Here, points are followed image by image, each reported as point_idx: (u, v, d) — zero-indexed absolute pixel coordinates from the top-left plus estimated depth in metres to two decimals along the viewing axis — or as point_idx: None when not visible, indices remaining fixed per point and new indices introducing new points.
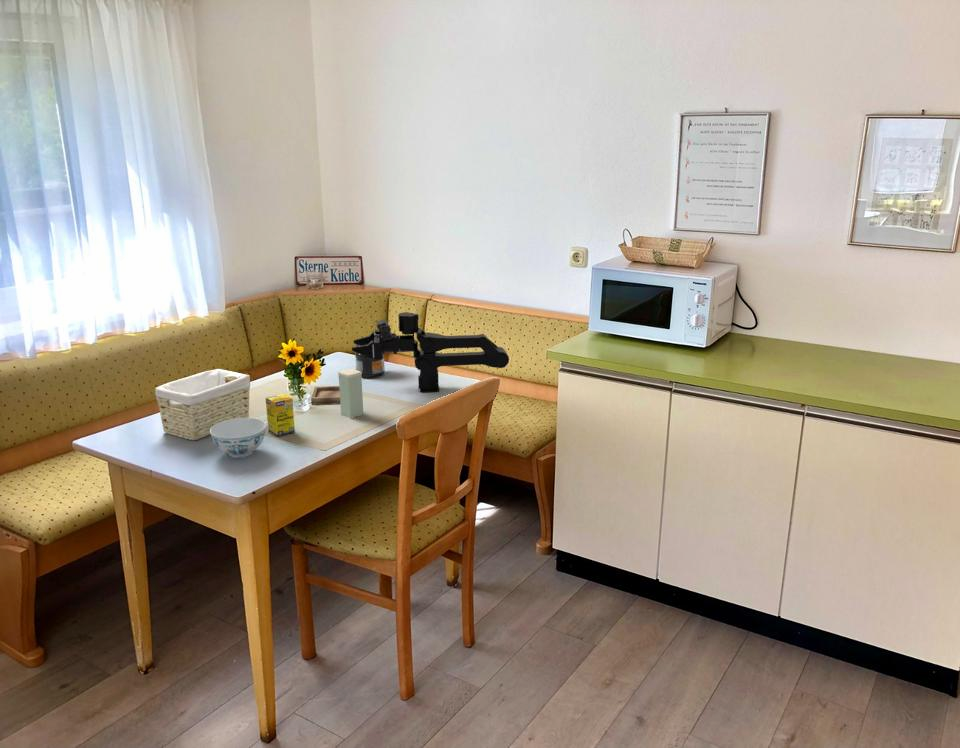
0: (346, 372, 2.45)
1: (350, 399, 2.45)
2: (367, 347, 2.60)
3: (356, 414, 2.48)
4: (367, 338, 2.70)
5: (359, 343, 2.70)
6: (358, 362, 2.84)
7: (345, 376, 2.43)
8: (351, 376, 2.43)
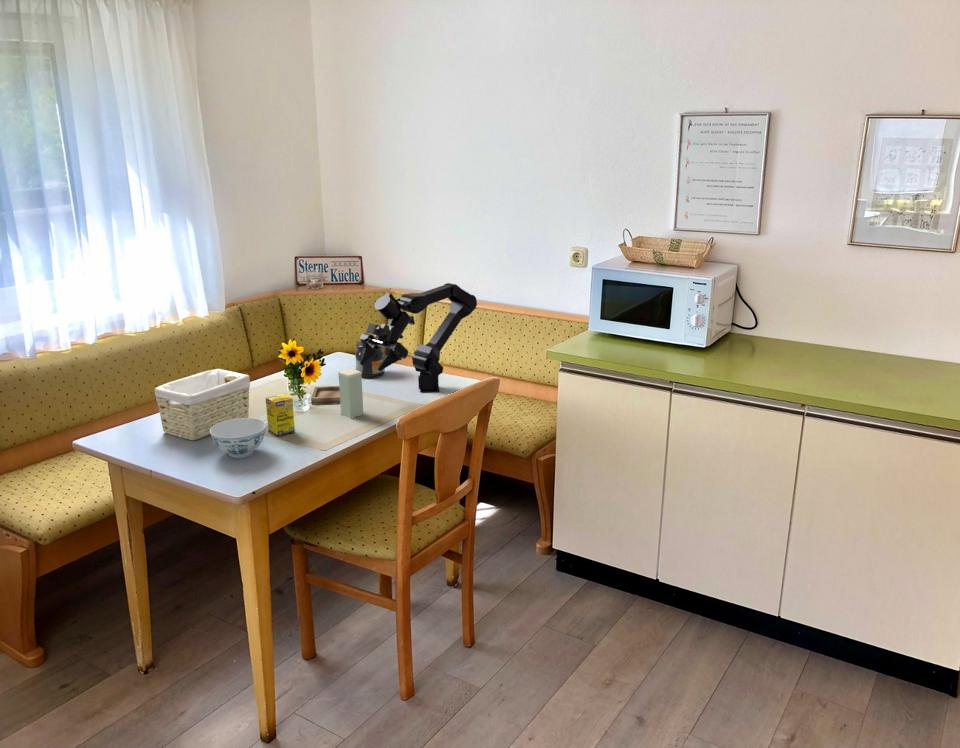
0: (346, 372, 2.45)
1: (350, 399, 2.45)
2: (389, 356, 2.48)
3: (356, 414, 2.48)
4: (366, 350, 2.55)
5: (365, 360, 2.55)
6: (358, 362, 2.84)
7: (345, 376, 2.43)
8: (351, 376, 2.43)
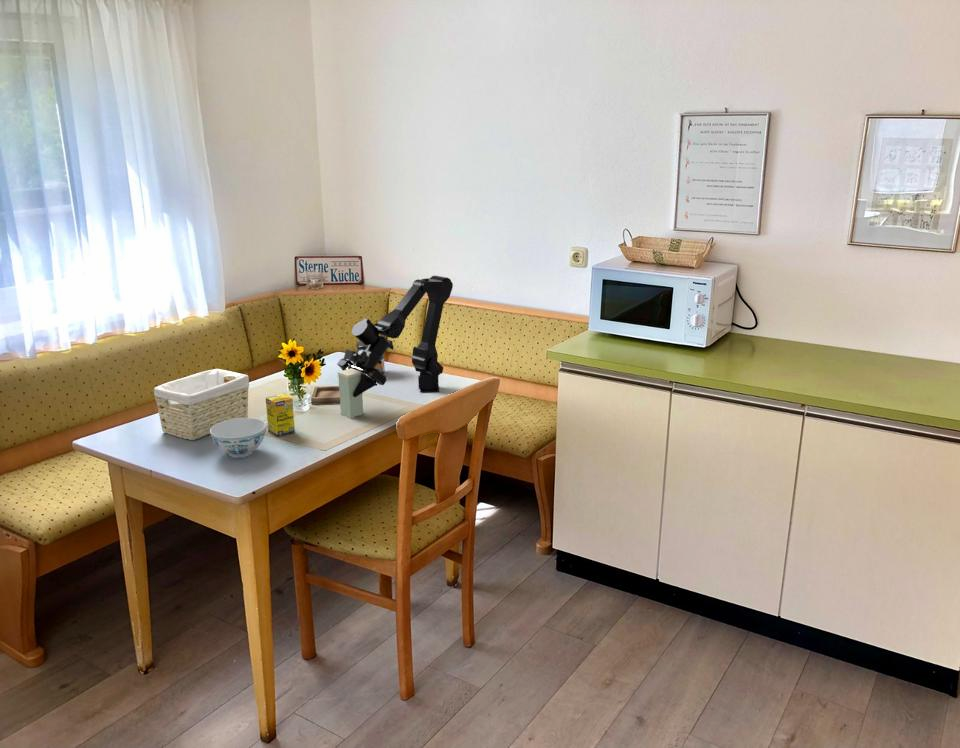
0: (346, 372, 2.45)
1: (350, 399, 2.45)
2: (364, 382, 2.45)
3: (356, 414, 2.48)
4: None
5: None
6: None
7: (345, 376, 2.43)
8: (351, 376, 2.43)
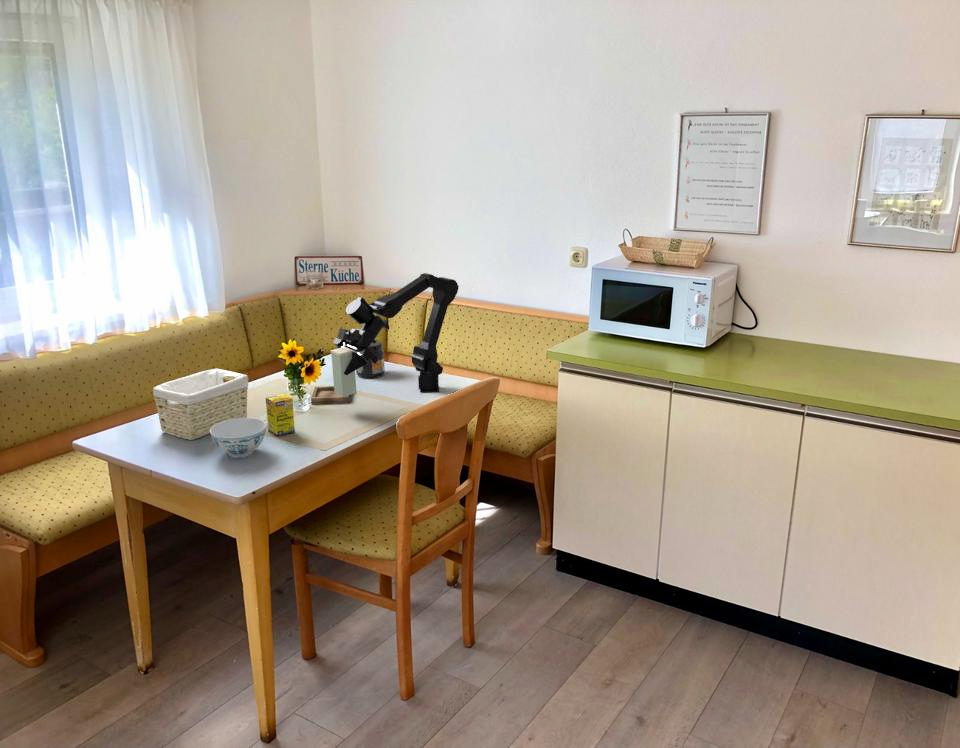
0: (338, 350, 2.45)
1: (342, 377, 2.45)
2: (355, 360, 2.45)
3: (349, 392, 2.48)
4: None
5: None
6: None
7: (337, 354, 2.43)
8: (343, 354, 2.43)
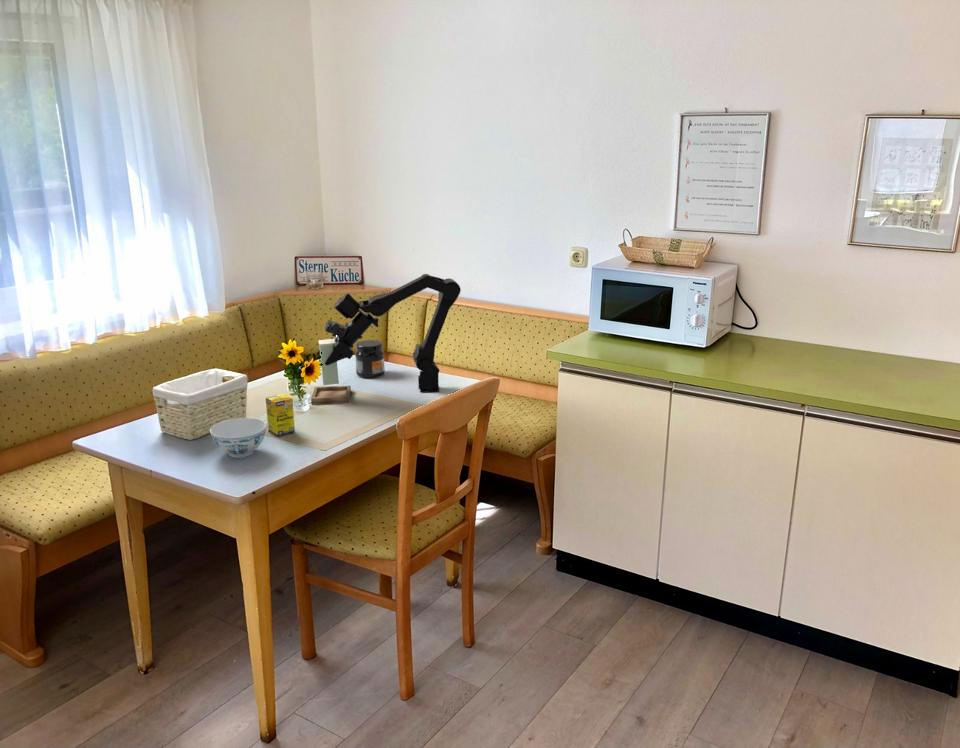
0: (323, 341, 2.59)
1: (322, 367, 2.59)
2: (334, 352, 2.57)
3: (330, 382, 2.61)
4: None
5: None
6: (358, 362, 2.84)
7: (319, 344, 2.58)
8: (323, 345, 2.57)
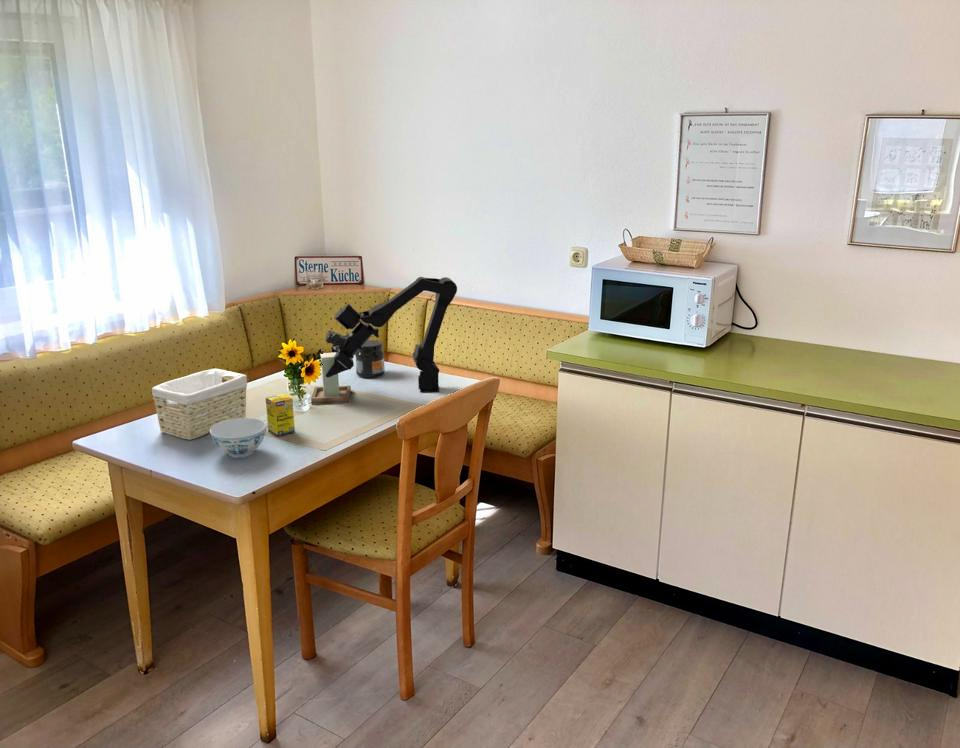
0: (325, 354, 2.61)
1: (323, 380, 2.60)
2: (335, 364, 2.56)
3: (331, 395, 2.63)
4: None
5: None
6: (358, 362, 2.84)
7: (321, 357, 2.59)
8: (325, 359, 2.58)
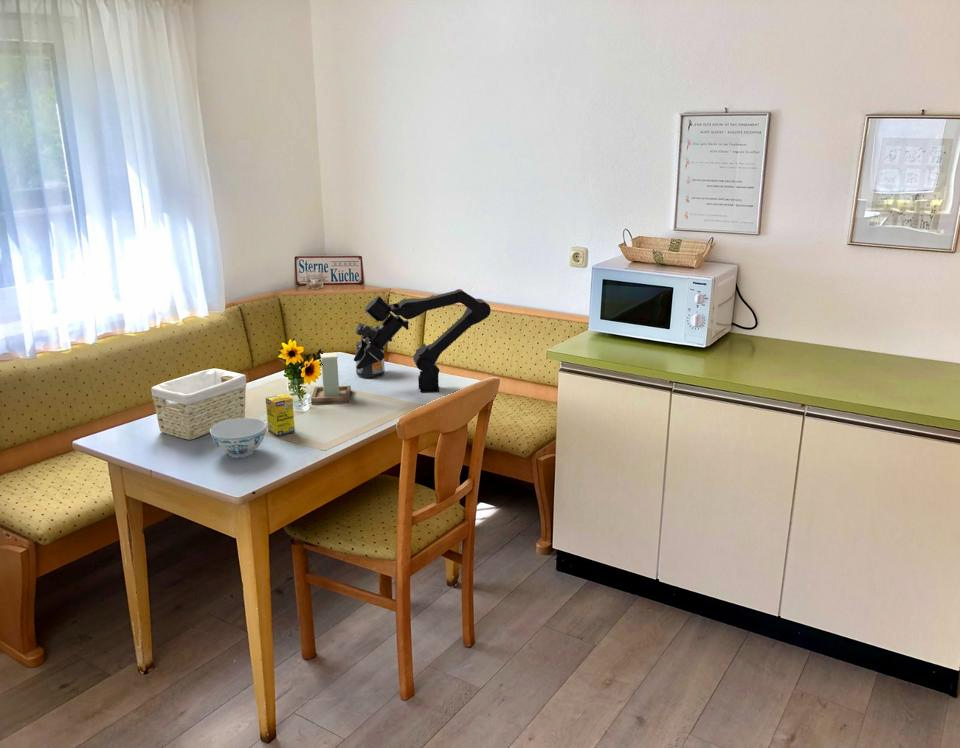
0: (325, 354, 2.61)
1: (323, 380, 2.60)
2: (366, 356, 2.58)
3: (331, 395, 2.63)
4: (361, 348, 2.68)
5: (359, 357, 2.68)
6: (358, 362, 2.84)
7: (321, 357, 2.59)
8: (325, 359, 2.58)
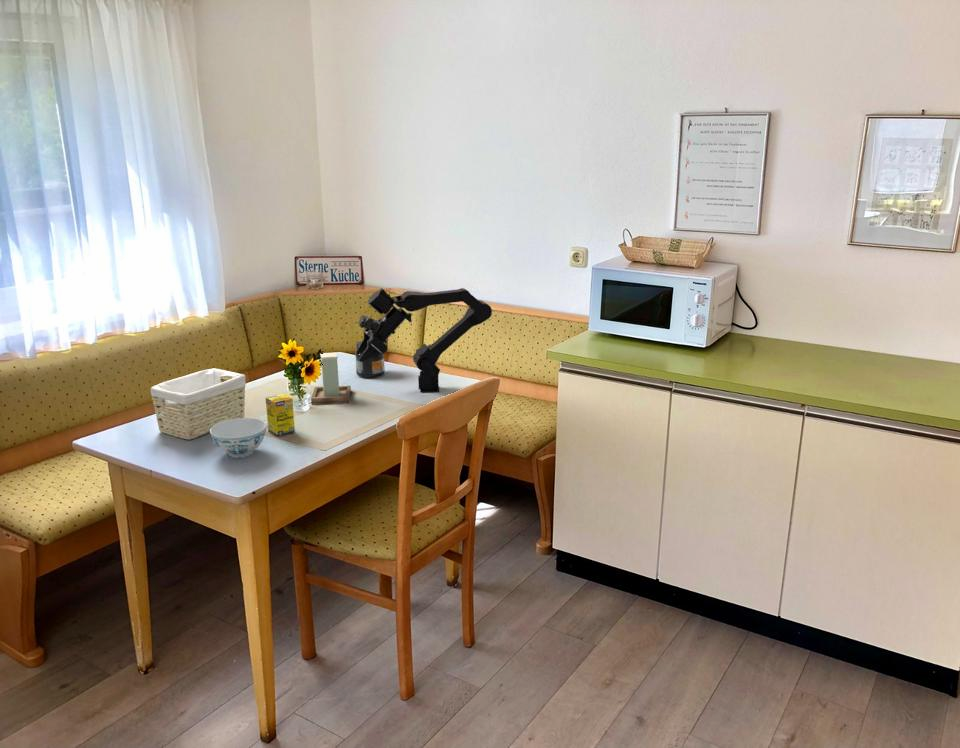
0: (325, 354, 2.61)
1: (323, 380, 2.60)
2: (369, 349, 2.57)
3: (331, 395, 2.63)
4: (364, 341, 2.67)
5: (362, 350, 2.67)
6: (358, 362, 2.84)
7: (321, 357, 2.59)
8: (325, 359, 2.58)
